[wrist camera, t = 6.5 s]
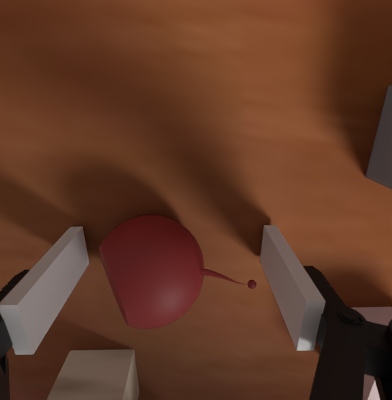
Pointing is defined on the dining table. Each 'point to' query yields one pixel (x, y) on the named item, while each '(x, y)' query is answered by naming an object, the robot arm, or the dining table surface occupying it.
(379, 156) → the slate grey block
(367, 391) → the dusty rose block
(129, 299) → the fruit
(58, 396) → the birch block
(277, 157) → the dining table surface
